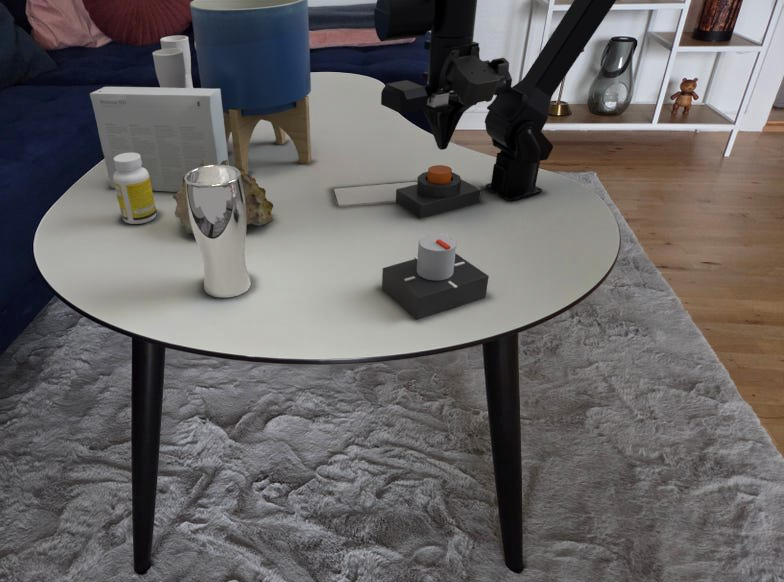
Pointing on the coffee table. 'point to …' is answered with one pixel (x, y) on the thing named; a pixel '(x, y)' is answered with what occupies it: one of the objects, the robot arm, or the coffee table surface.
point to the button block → (437, 196)
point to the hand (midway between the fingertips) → (442, 148)
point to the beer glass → (219, 227)
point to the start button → (439, 174)
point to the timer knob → (436, 256)
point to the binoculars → (173, 63)
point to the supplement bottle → (133, 189)
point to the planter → (257, 68)
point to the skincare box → (161, 130)
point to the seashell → (254, 199)
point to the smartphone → (368, 194)
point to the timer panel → (433, 287)
